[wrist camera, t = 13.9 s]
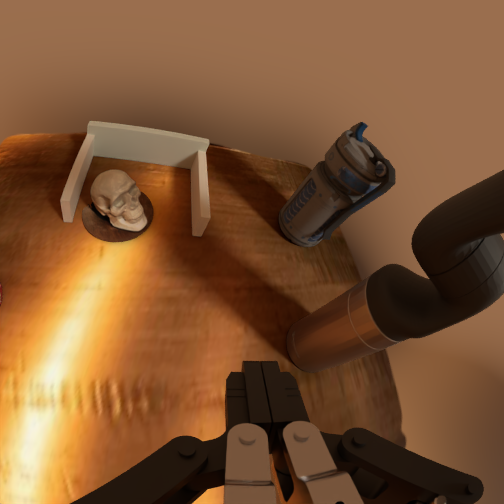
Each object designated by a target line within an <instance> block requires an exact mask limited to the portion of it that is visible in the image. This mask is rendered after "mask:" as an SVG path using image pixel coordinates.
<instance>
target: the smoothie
mask: <svg viewBox="0 0 504 504" xmlns="http://www.w3.org/2000/svg"><path fill="white" fill-rule="evenodd" d="M1 302H2V286H1V283H0V305H1Z"/></svg>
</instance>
